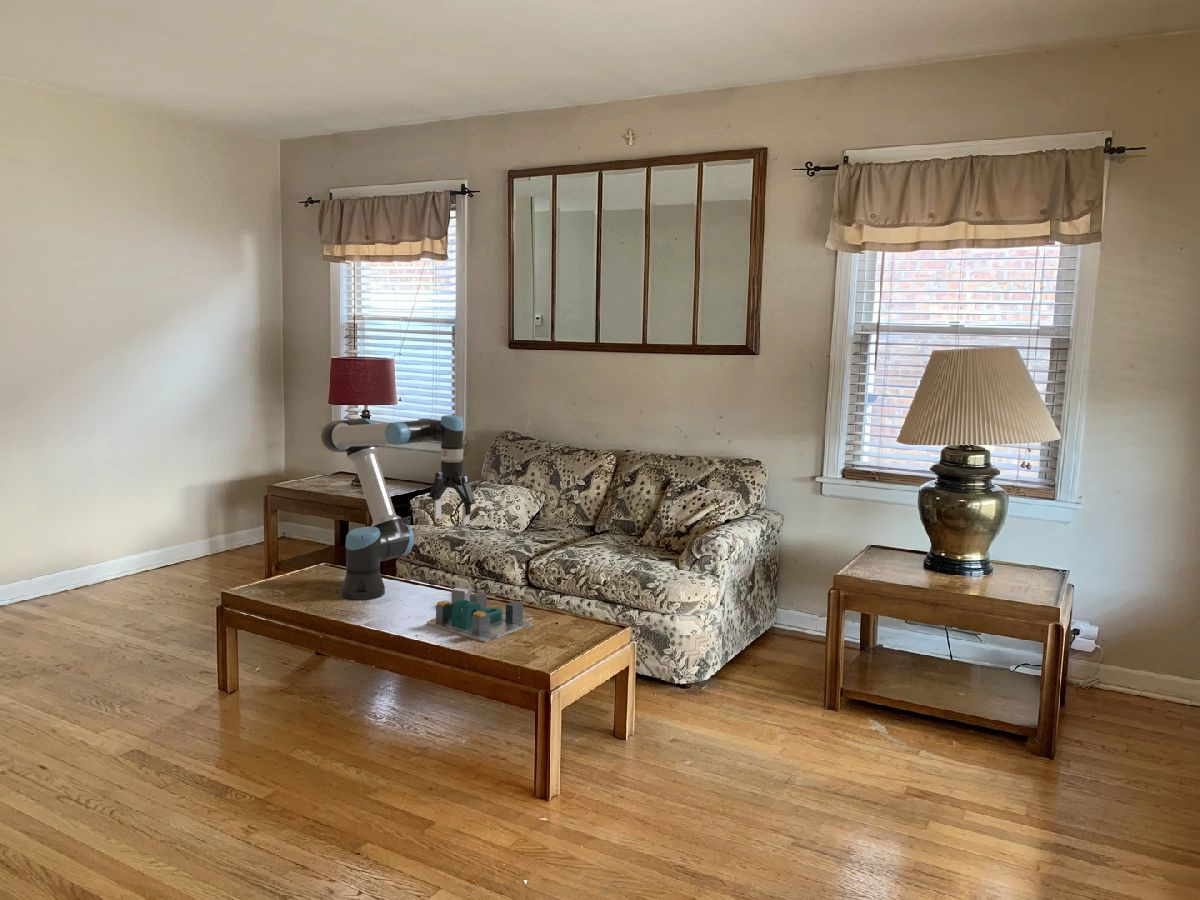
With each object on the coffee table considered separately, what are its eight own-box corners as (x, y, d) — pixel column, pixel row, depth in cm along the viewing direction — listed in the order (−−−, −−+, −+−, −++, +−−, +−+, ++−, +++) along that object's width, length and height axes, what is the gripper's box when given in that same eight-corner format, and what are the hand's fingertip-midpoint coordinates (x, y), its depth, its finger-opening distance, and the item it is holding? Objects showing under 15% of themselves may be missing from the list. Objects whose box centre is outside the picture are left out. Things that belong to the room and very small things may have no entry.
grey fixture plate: (426, 624, 295) (426, 601, 294) (474, 609, 313) (474, 586, 312) (485, 642, 280) (485, 617, 279) (532, 624, 298) (532, 601, 297)
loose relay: (451, 606, 315) (451, 589, 314) (458, 602, 320) (458, 585, 319) (464, 608, 313) (464, 591, 312) (471, 604, 318) (471, 587, 317)
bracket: (465, 630, 287) (466, 605, 286) (451, 625, 292) (451, 601, 291) (506, 617, 301) (506, 594, 300) (492, 612, 305) (492, 589, 304)
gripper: (418, 457, 318) (418, 517, 321) (470, 465, 304) (470, 528, 307) (434, 455, 324) (434, 514, 327) (486, 463, 310) (485, 524, 313)
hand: (451, 521), depth 317 cm, fingers open, 13 cm apart
